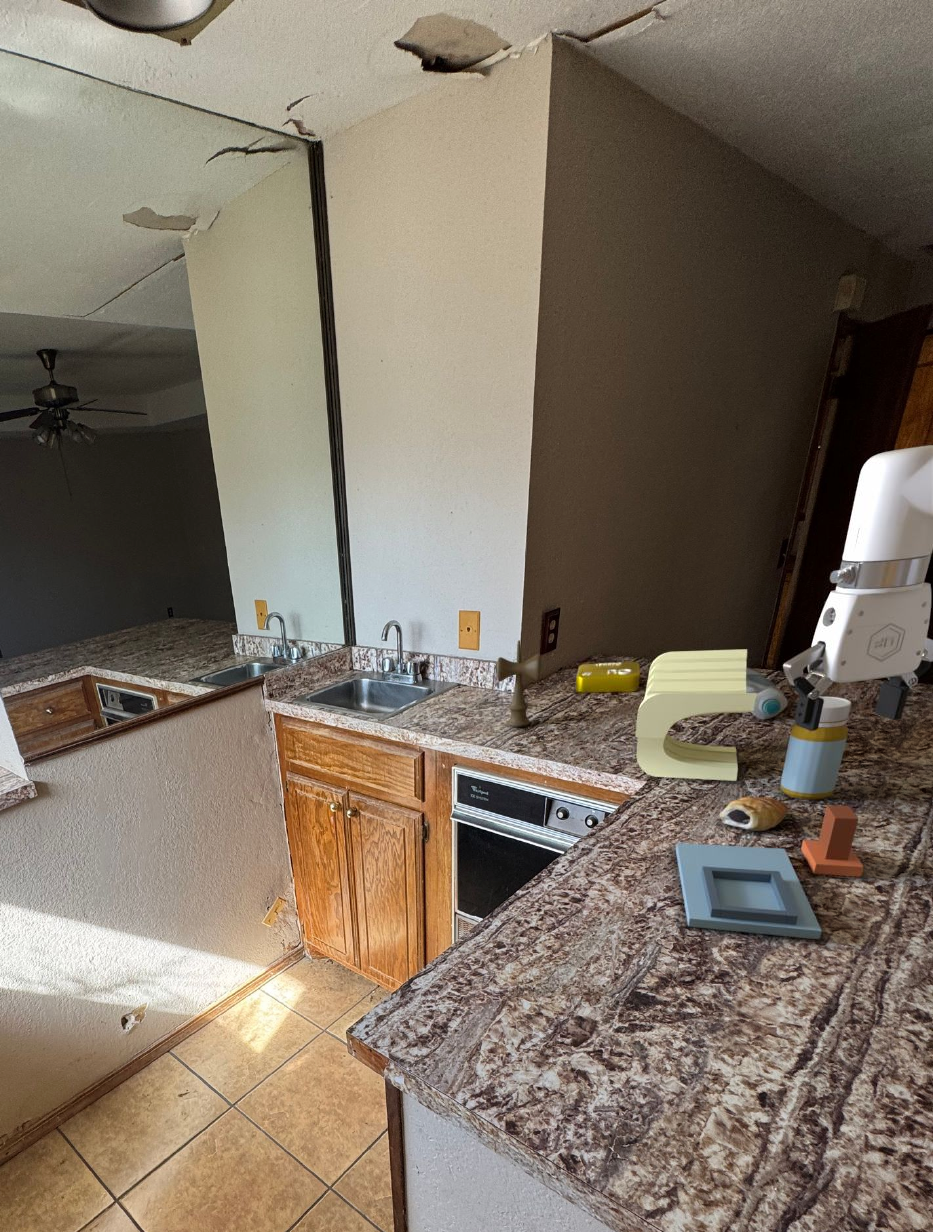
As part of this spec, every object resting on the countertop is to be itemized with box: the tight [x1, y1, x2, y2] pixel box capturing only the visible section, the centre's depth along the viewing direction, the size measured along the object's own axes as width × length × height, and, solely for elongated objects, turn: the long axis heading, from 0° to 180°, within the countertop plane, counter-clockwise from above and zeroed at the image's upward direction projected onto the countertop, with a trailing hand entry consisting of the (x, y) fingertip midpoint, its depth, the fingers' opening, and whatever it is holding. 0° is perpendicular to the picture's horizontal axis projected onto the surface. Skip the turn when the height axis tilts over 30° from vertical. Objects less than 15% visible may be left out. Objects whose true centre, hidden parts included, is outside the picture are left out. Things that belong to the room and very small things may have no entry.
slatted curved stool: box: [634, 649, 757, 782], centre depth 117 cm, size 30×16×18 cm, turn 151°
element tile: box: [575, 661, 641, 694], centre depth 173 cm, size 15×15×5 cm
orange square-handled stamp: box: [800, 804, 864, 878], centre depth 85 cm, size 5×7×8 cm
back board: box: [675, 842, 823, 940], centre depth 84 cm, size 13×20×2 cm, turn 157°
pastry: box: [719, 796, 789, 832], centre depth 98 cm, size 9×7×4 cm
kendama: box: [496, 639, 542, 728], centre depth 150 cm, size 6×10×20 cm, turn 71°
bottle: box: [779, 695, 852, 801], centre depth 102 cm, size 7×7×15 cm
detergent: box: [746, 666, 789, 721], centre depth 142 cm, size 13×7×25 cm
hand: (846, 722), depth 80 cm, fingers open, 9 cm apart
